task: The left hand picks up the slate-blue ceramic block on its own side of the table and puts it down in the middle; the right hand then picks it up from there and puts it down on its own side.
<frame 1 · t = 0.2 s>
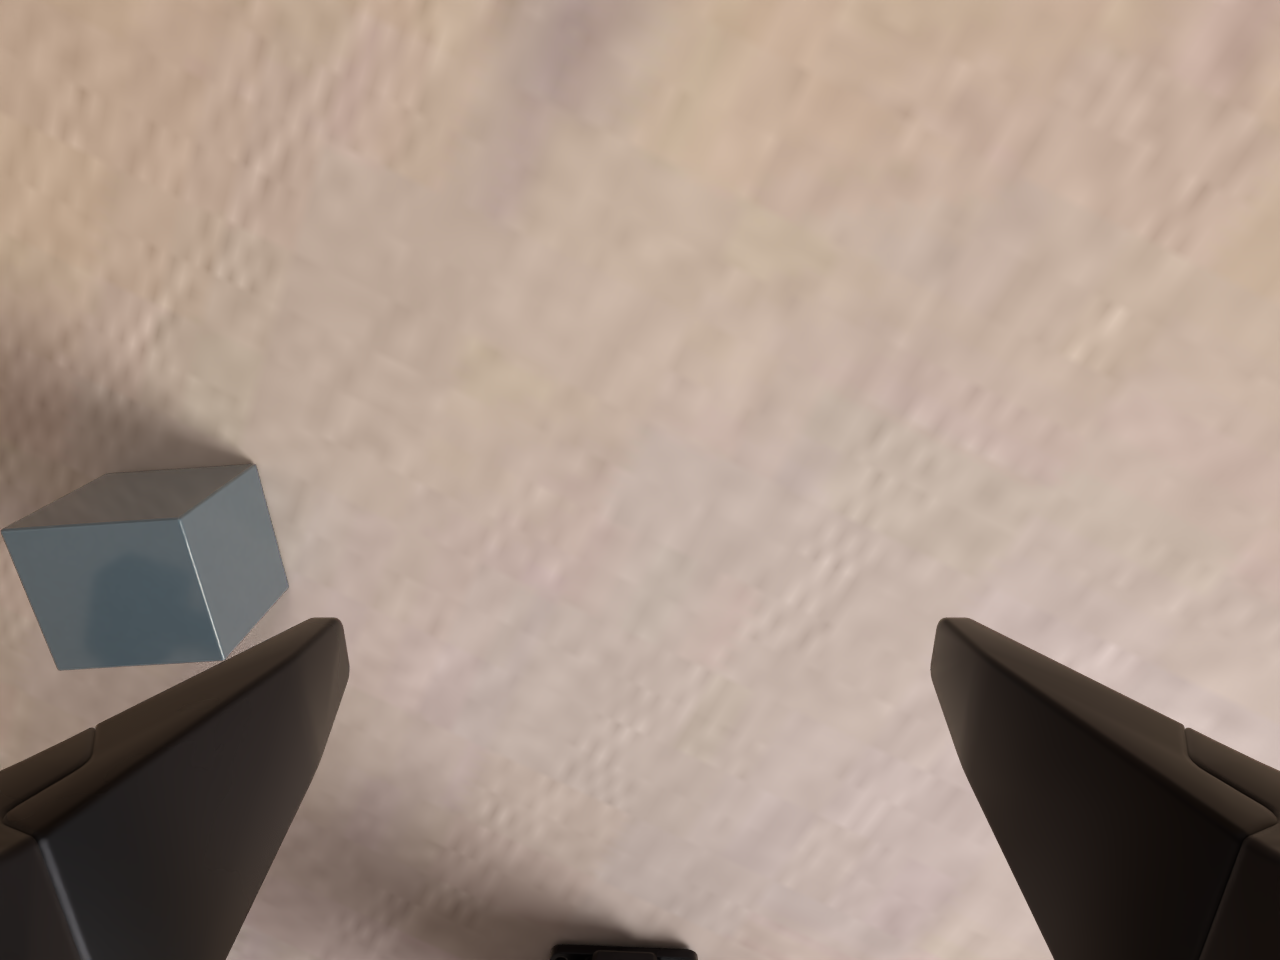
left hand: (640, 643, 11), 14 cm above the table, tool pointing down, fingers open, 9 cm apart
block: (200, 531, 26), on the table
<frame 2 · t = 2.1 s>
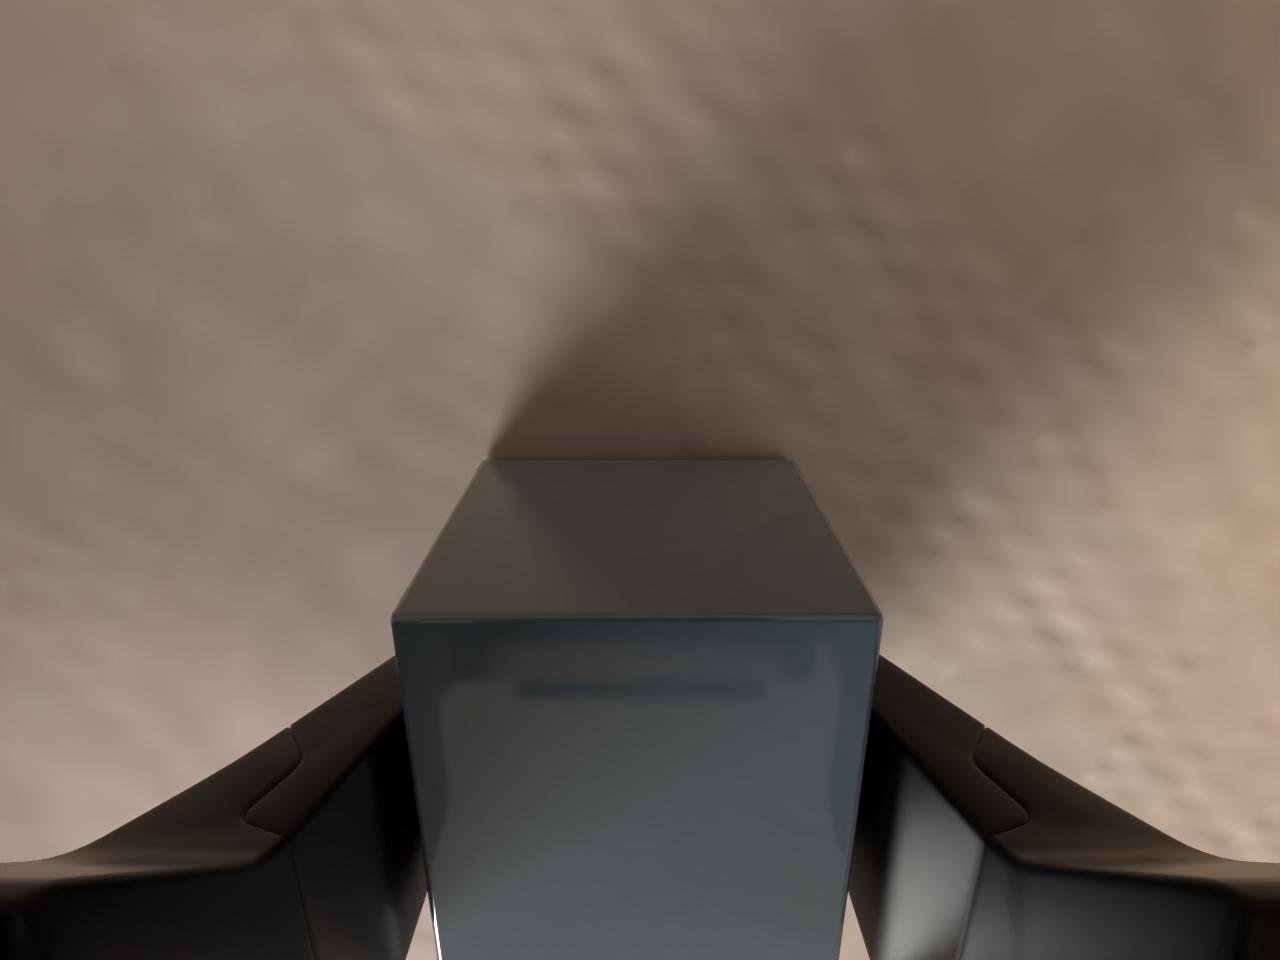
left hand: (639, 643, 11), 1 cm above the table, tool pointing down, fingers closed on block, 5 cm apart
block: (638, 608, 12), on the table, touching left hand
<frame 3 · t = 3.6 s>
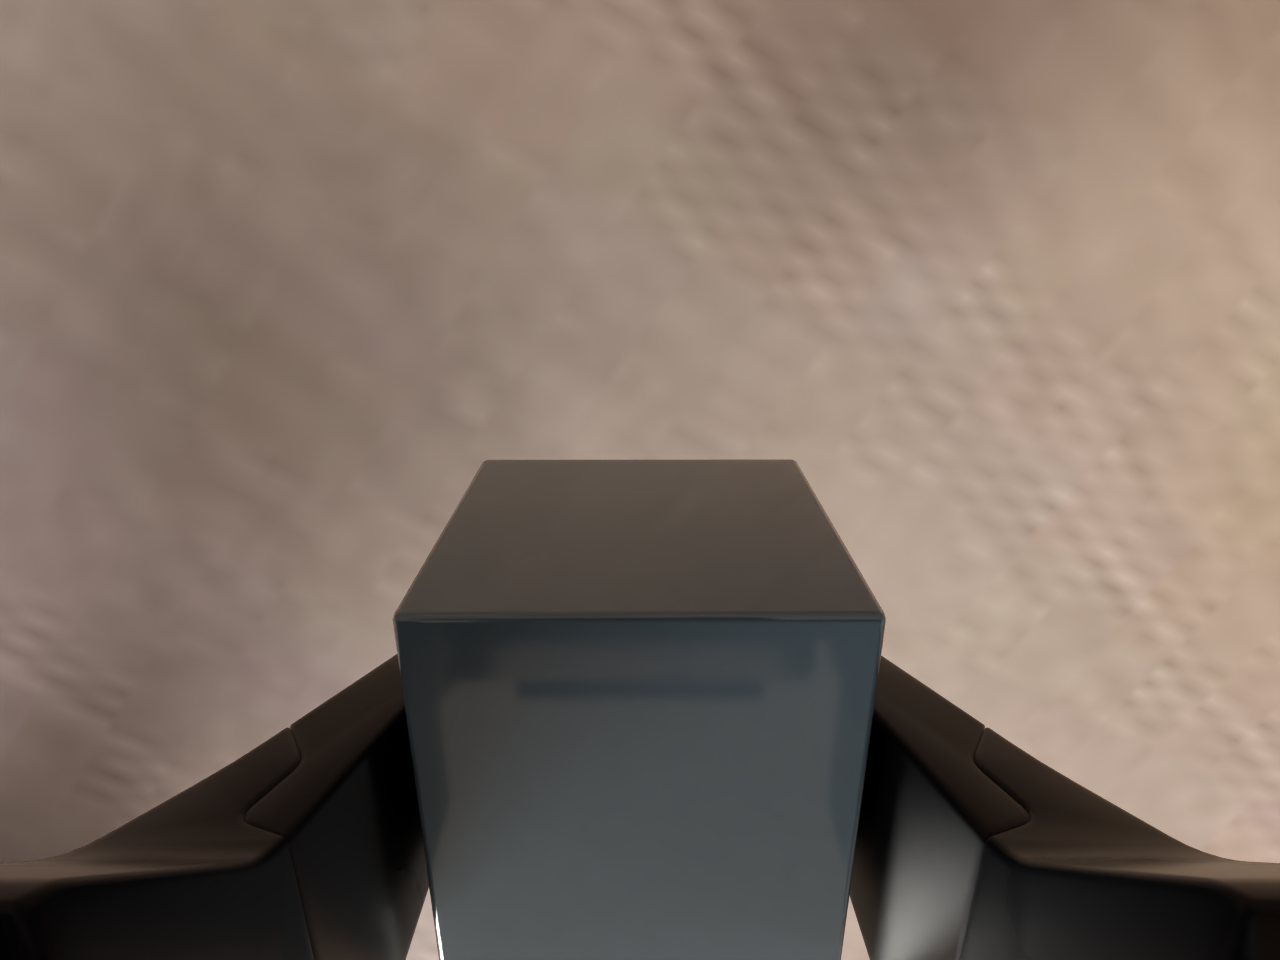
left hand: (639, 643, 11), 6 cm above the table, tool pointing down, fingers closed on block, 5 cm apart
block: (639, 607, 12), point 5 cm above the table, touching left hand
when the left hand's fingers open (2 cm above the table, at t = 5.5 s): block stays where it is, on the table.
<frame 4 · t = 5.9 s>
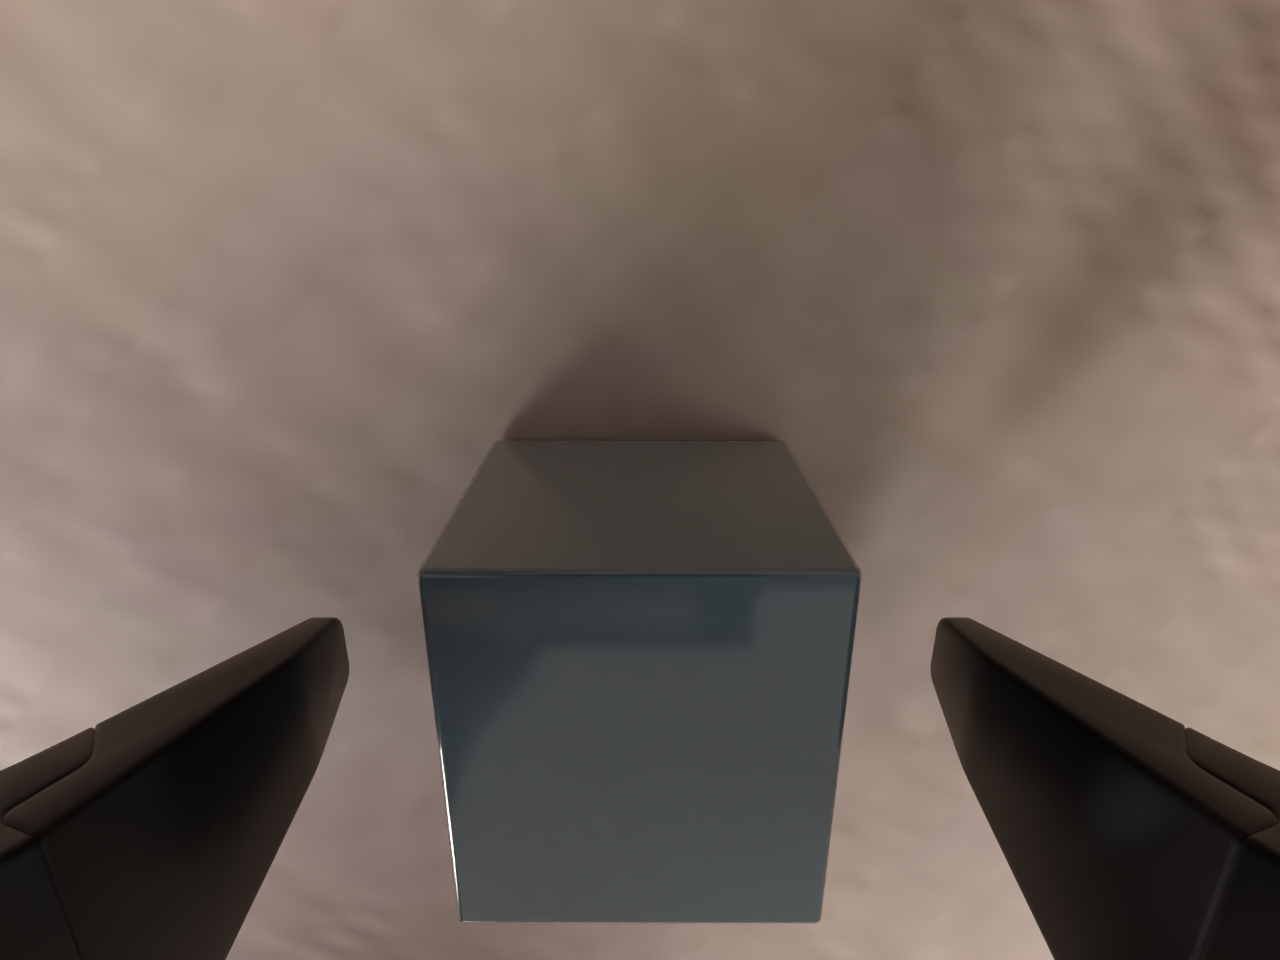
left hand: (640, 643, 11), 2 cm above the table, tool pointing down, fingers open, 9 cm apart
block: (640, 581, 13), on the table
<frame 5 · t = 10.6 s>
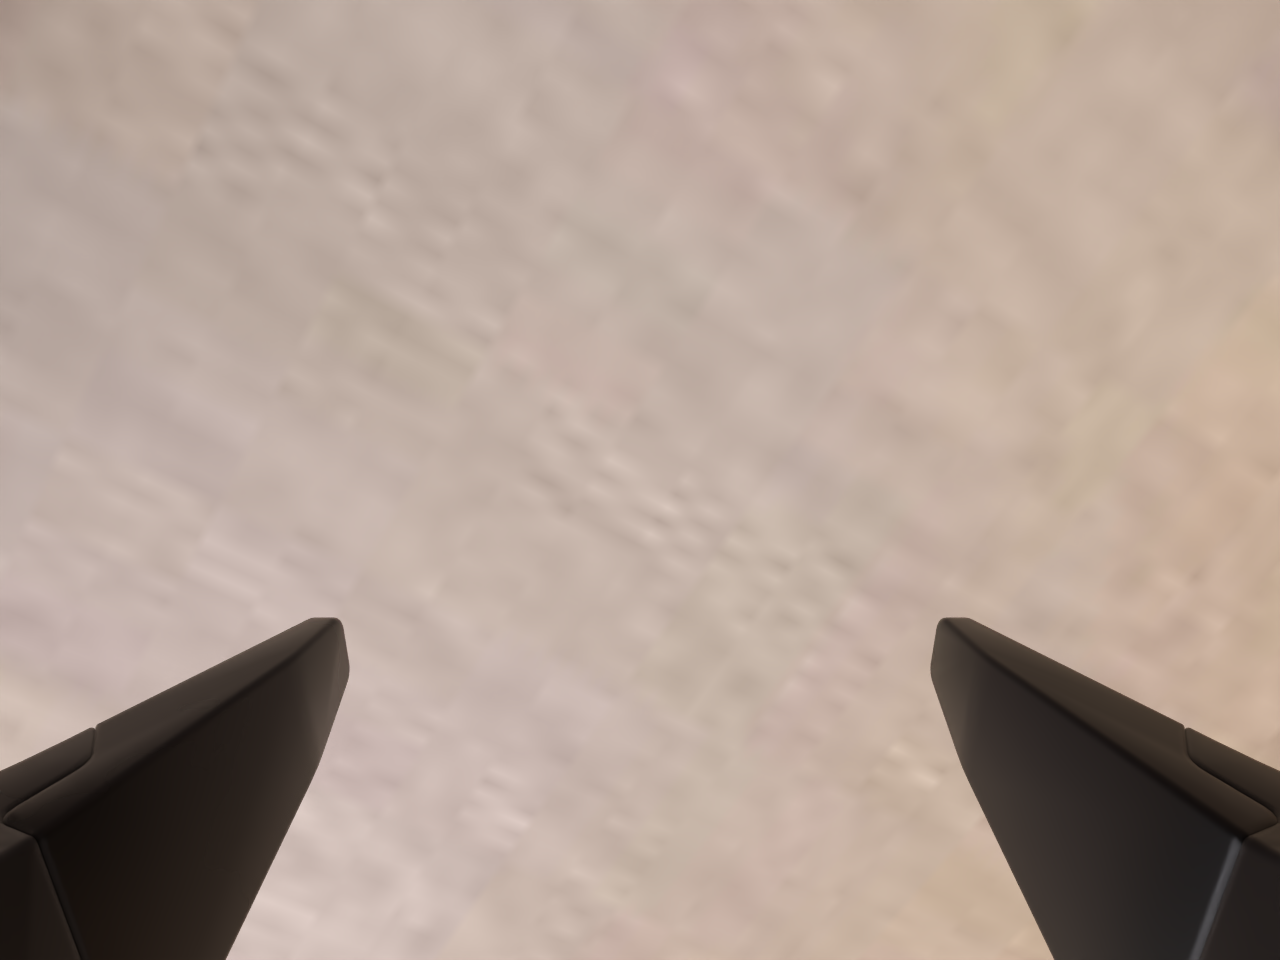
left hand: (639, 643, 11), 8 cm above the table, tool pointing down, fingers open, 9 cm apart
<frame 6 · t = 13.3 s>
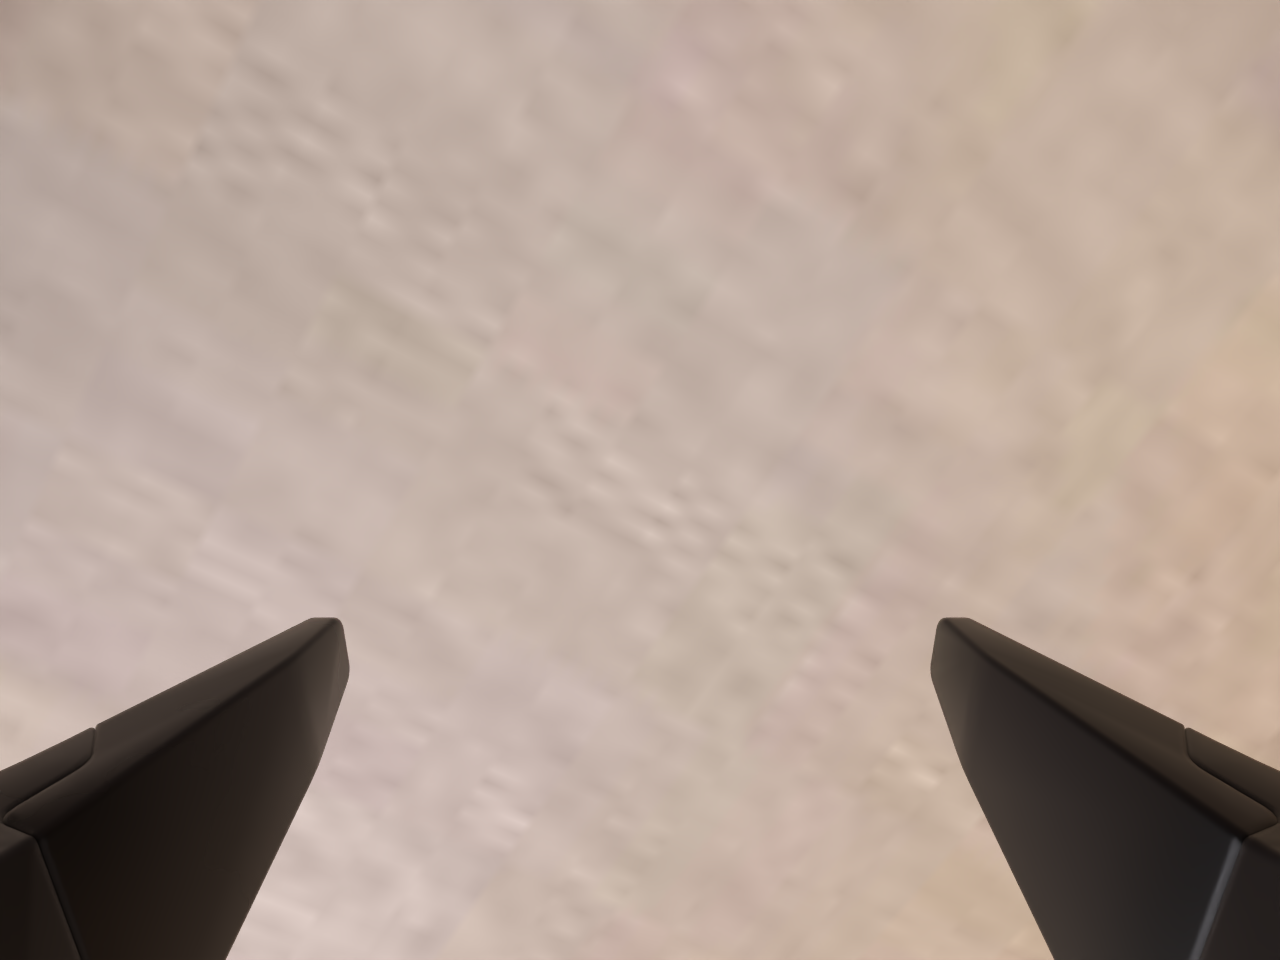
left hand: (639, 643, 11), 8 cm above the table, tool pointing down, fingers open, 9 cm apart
when the right hand's fingers open (2 cm above the table, at t = 16.3 s): block stays where it is, on the table.
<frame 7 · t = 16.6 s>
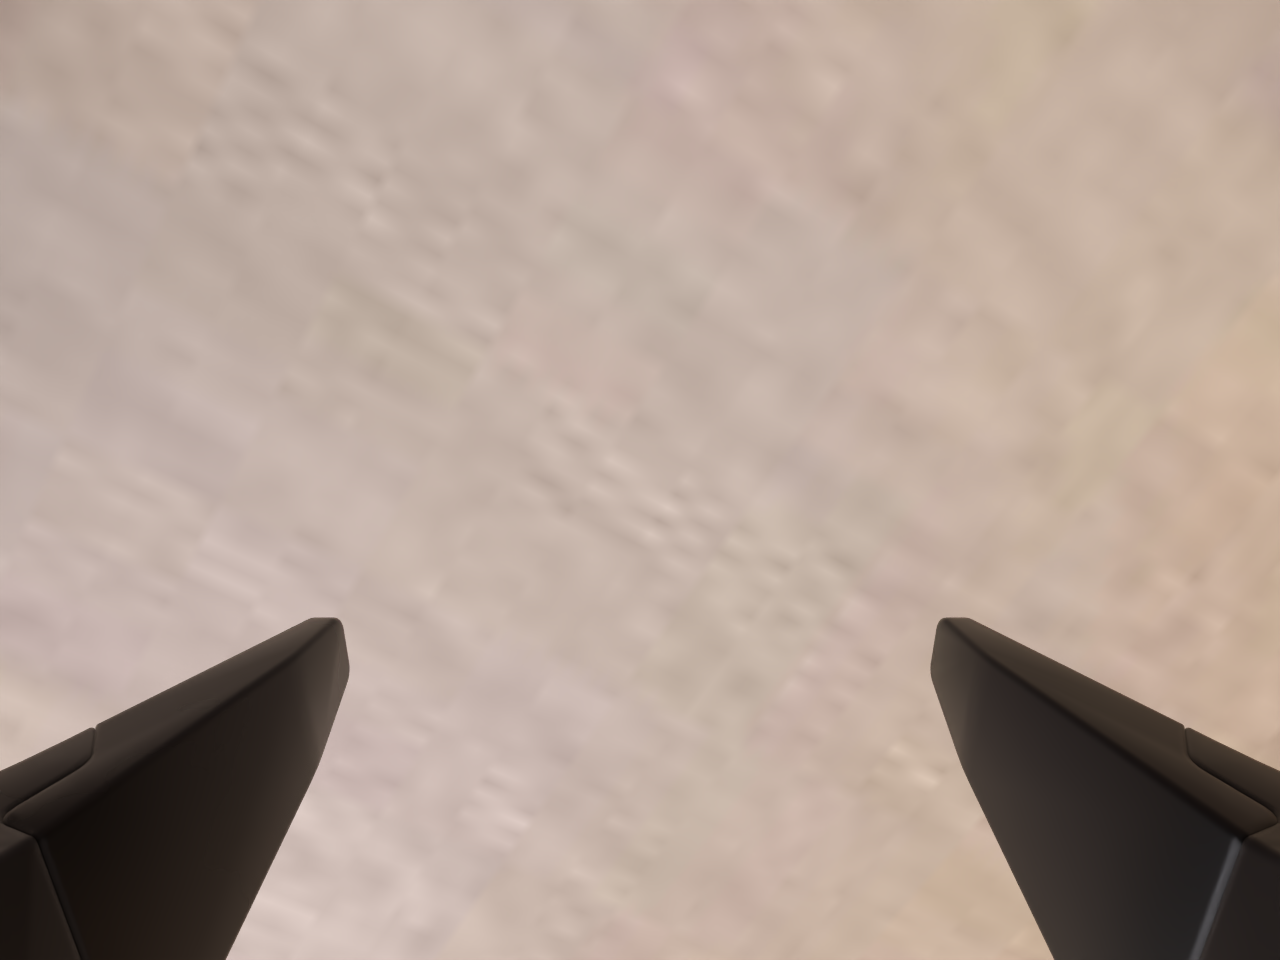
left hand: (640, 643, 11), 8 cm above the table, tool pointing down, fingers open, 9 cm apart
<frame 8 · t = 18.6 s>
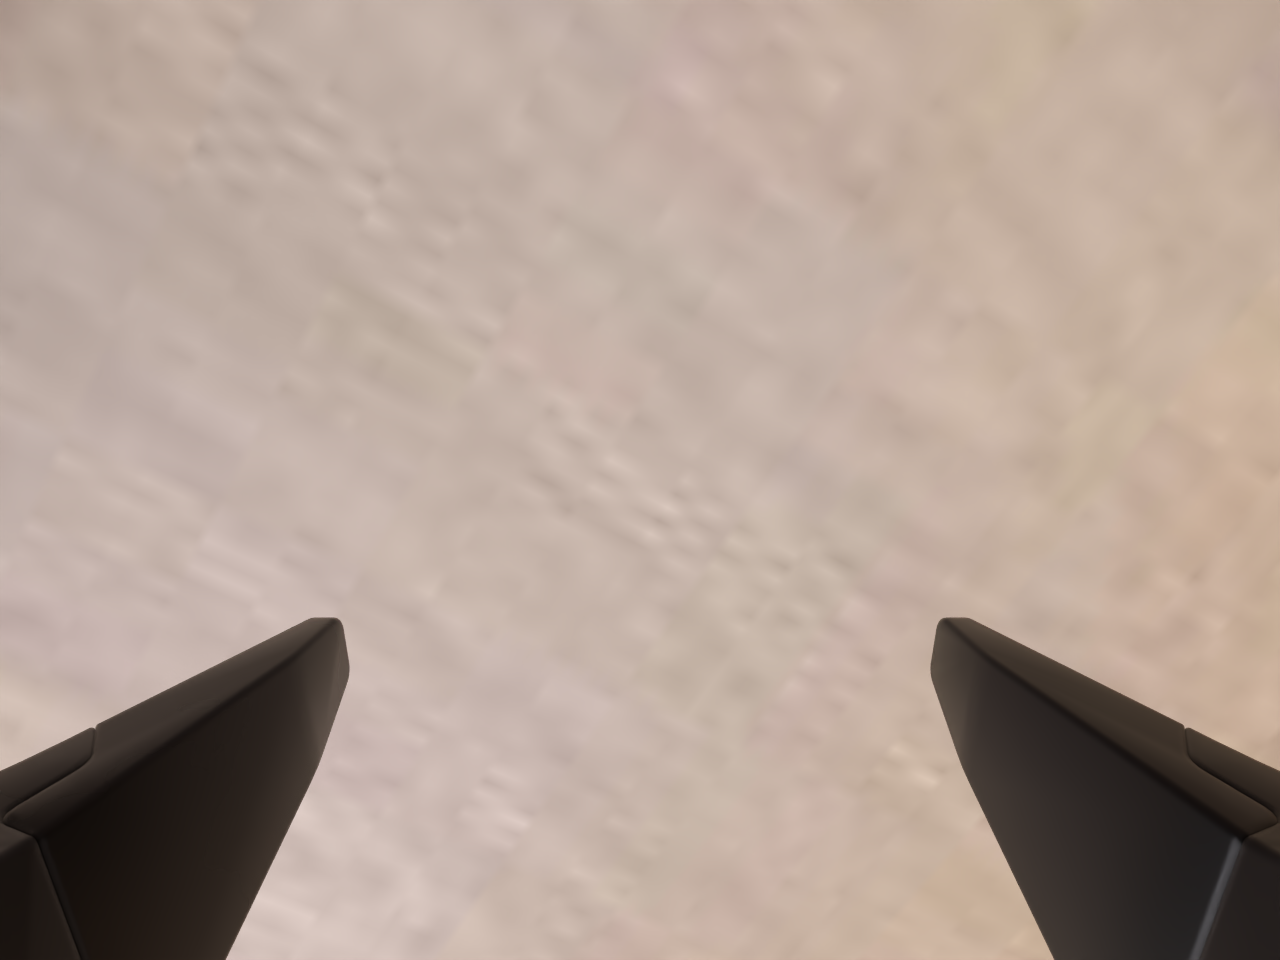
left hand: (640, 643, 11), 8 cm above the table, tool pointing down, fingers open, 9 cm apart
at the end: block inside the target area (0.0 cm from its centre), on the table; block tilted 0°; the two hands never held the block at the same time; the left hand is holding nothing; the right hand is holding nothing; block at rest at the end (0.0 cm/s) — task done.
